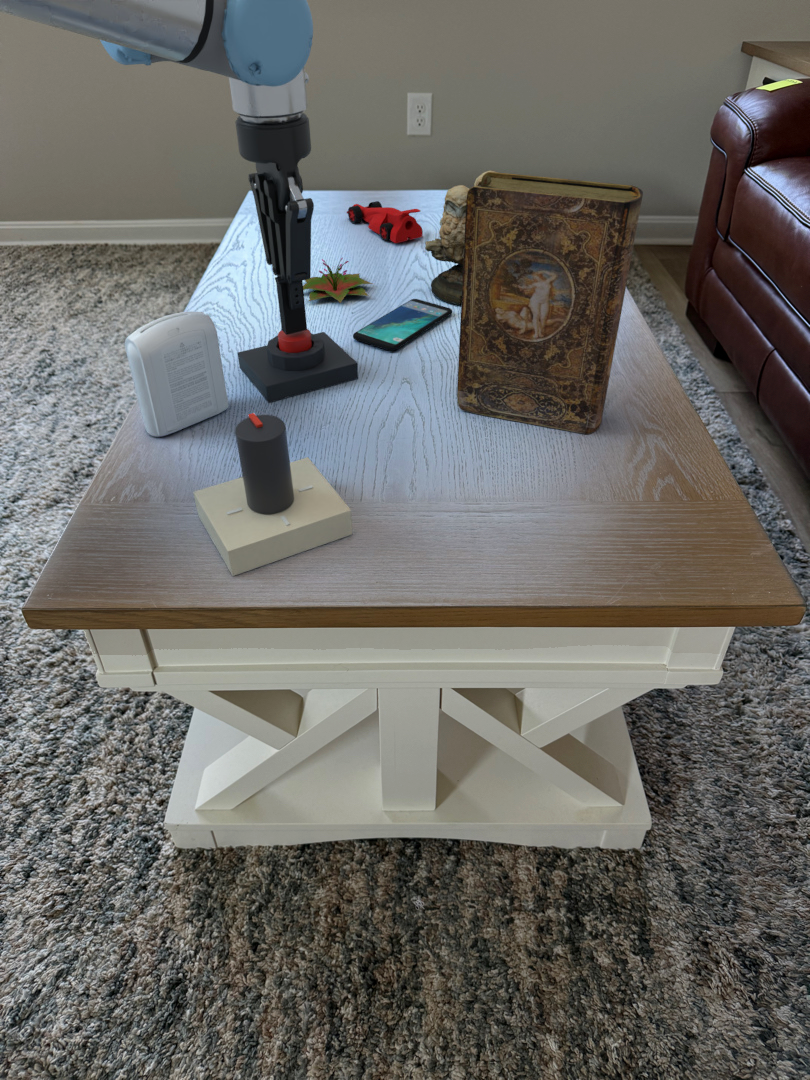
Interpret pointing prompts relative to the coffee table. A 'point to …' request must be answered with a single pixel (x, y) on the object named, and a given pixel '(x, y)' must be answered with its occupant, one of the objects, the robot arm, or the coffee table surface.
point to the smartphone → (402, 324)
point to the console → (273, 520)
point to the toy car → (387, 221)
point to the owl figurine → (451, 244)
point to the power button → (295, 341)
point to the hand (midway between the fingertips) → (294, 329)
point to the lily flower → (335, 284)
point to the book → (543, 297)
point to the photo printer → (177, 371)
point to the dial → (265, 463)
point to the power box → (297, 367)
